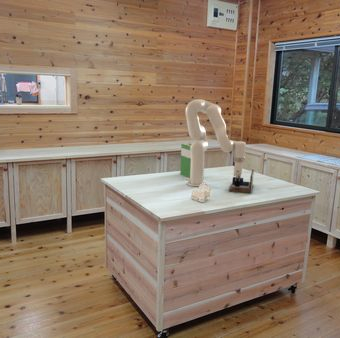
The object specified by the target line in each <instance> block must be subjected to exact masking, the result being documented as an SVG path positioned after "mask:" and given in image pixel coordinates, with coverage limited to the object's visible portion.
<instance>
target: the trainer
mask: <svg viewBox="0 0 340 338" xmlns="http://www.w3.org/2000/svg"><path fill="white" fill-rule="evenodd" d="M235 178H236V176H233V177H232V179H231V180H232V181H231V182H232V183H231V185H230V188H231V187H236V186H235ZM238 178H239V177H238ZM239 181H240V186H239V187H237V188H248V189H249V182H250V181H244V177H240V180H239Z"/></svg>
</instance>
